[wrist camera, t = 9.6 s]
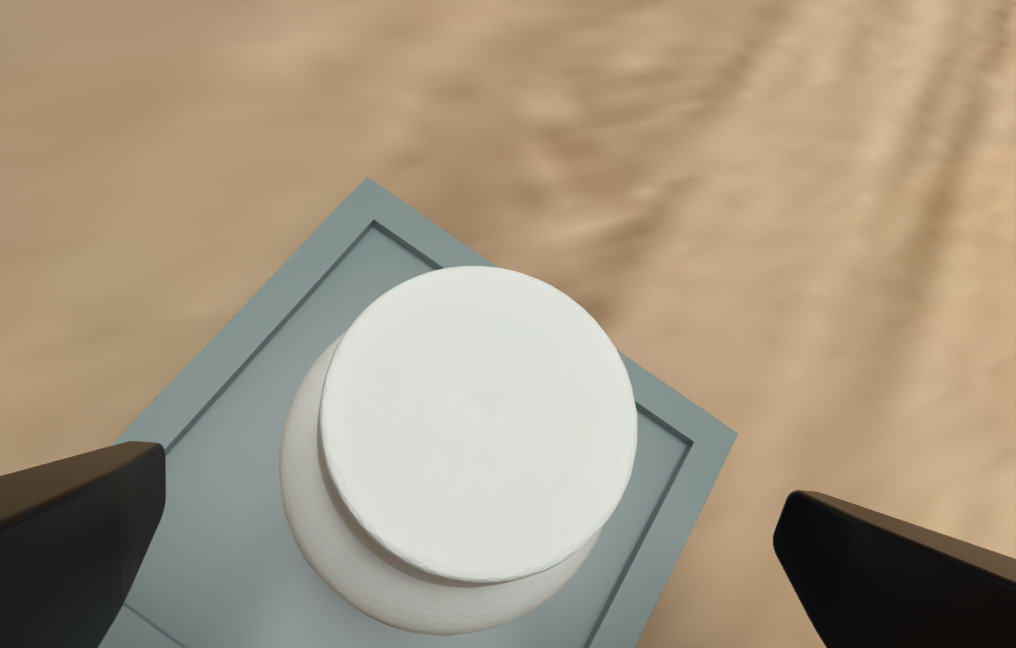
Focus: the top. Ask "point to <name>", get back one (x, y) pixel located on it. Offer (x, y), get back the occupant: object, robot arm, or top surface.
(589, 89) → the top surface
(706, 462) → the tray
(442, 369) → the pill bottle
